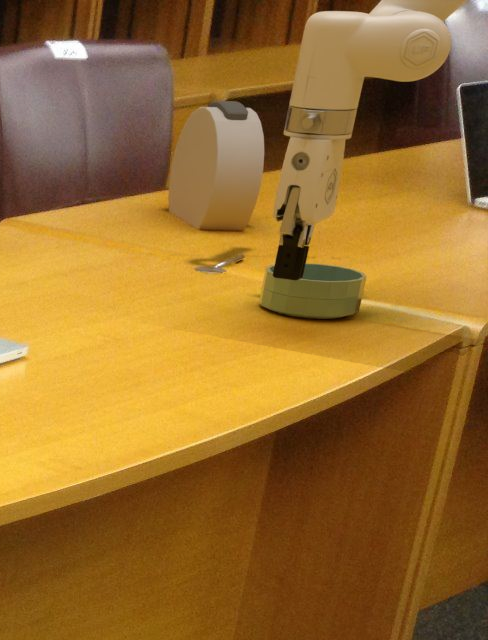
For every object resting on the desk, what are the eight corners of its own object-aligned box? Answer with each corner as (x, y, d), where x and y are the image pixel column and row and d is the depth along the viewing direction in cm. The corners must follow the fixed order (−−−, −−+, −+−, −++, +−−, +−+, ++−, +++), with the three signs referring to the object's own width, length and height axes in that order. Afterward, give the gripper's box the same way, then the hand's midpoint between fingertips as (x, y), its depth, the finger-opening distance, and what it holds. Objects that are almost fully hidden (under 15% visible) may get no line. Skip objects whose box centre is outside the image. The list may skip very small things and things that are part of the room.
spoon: (226, 258, 233) (228, 251, 233) (256, 261, 231) (257, 255, 230) (188, 275, 222) (190, 268, 222) (219, 279, 220) (220, 272, 219)
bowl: (368, 308, 203) (376, 270, 201) (342, 325, 195) (350, 285, 192) (275, 296, 210) (282, 259, 207) (246, 311, 201) (253, 273, 199)
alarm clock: (249, 240, 247) (277, 111, 238) (202, 239, 247) (229, 110, 238) (204, 214, 266) (229, 93, 256) (161, 213, 266) (184, 92, 256)
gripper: (334, 131, 176) (300, 292, 184) (369, 120, 186) (336, 273, 194) (267, 126, 180) (236, 283, 188) (305, 115, 190) (275, 265, 199)
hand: (287, 277), depth 191 cm, fingers closed
